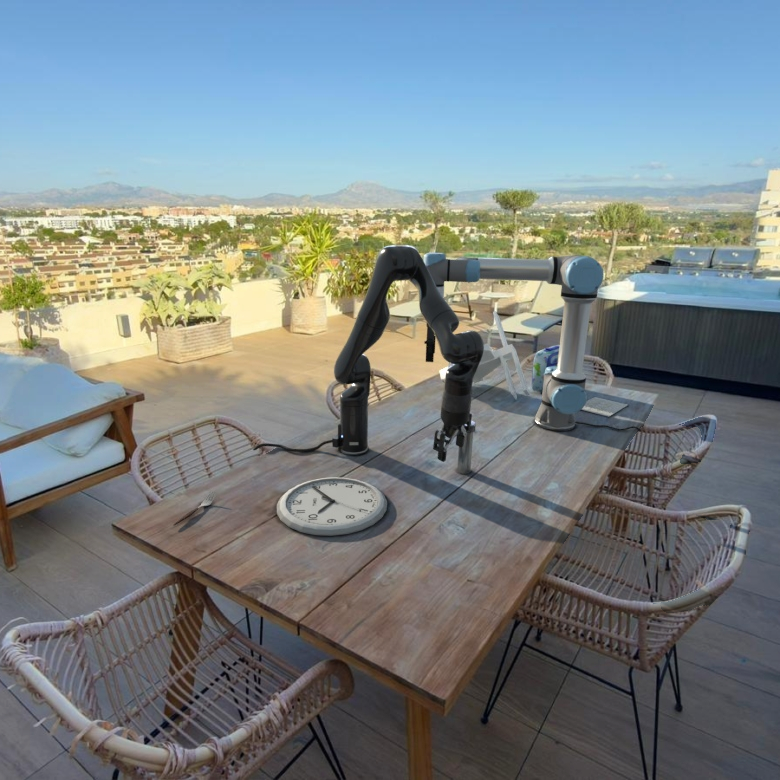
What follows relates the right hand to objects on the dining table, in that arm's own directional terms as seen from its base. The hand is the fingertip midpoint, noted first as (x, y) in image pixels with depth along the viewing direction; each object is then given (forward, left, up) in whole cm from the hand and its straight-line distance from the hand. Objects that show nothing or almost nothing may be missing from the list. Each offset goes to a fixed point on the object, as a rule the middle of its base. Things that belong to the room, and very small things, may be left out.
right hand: (430, 357), depth 190 cm
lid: (-13, +34, -12) cm, 38 cm away
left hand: (-8, +51, -14) cm, 54 cm away
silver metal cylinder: (-13, +34, -28) cm, 46 cm away
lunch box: (-56, -60, -28) cm, 87 cm away
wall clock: (+23, +61, -28) cm, 71 cm away
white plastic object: (-22, -50, -28) cm, 61 cm away
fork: (+58, +70, -28) cm, 95 cm away
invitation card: (-73, -38, -28) cm, 87 cm away
